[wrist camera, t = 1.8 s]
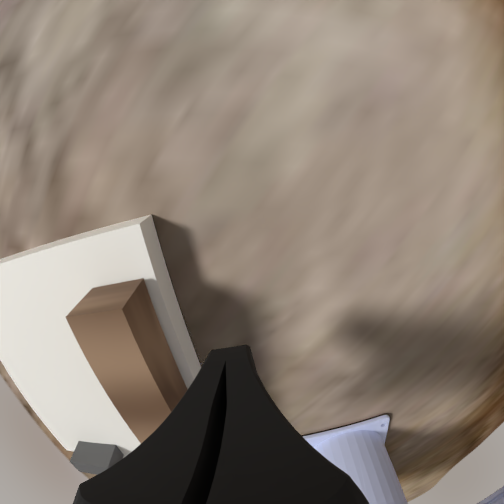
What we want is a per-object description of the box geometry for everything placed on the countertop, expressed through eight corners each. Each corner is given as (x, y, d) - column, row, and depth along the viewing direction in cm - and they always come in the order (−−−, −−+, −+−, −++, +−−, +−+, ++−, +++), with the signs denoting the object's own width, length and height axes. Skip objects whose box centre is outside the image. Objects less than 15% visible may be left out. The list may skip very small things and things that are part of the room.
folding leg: (218, 445, 18) (216, 479, 15) (173, 447, 18) (167, 479, 15) (147, 277, 14) (126, 308, 11) (89, 288, 14) (62, 317, 11)
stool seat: (230, 437, 21) (230, 483, 17) (73, 435, 21) (58, 468, 17) (151, 214, 15) (119, 239, 11) (-23, 267, 16) (-60, 291, 11)
